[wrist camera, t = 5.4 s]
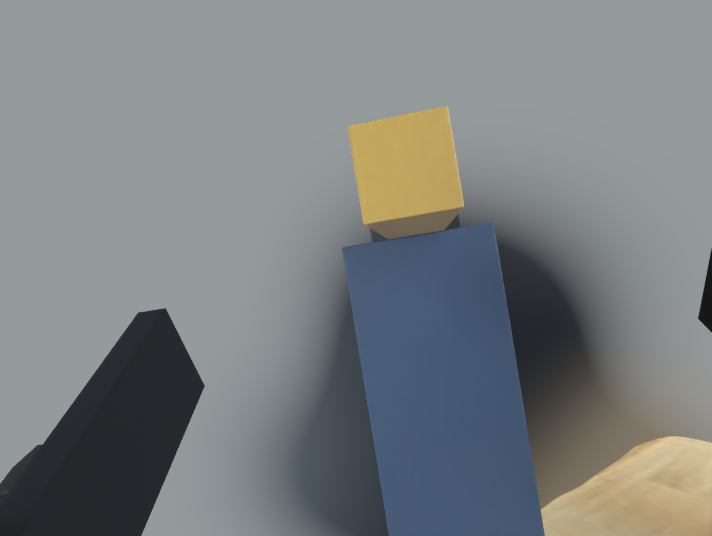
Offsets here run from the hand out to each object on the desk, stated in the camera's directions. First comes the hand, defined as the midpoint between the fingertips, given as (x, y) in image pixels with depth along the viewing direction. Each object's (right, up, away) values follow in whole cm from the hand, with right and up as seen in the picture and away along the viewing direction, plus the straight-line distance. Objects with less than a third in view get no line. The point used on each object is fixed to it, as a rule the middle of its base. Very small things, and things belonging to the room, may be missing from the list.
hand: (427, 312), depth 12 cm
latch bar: (+2, +3, +15) cm, 15 cm away
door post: (+7, -27, +19) cm, 33 cm away
